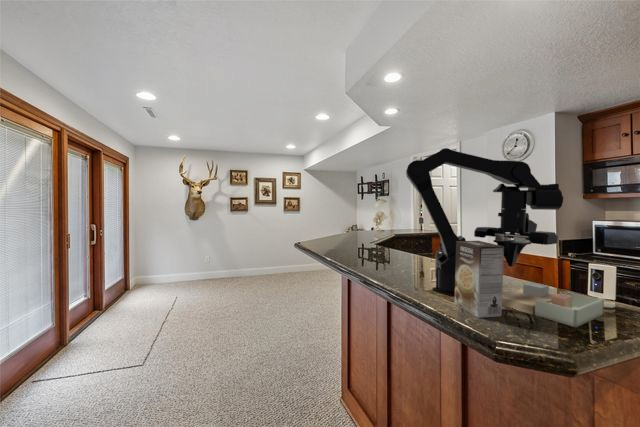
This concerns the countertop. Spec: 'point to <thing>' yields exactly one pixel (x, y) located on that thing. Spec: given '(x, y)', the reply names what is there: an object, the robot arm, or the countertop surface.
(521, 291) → the deck
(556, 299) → the tile terracotta
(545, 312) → the tray
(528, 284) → the tile slate
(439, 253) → the supplement bottle
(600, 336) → the countertop surface
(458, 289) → the coffee box
